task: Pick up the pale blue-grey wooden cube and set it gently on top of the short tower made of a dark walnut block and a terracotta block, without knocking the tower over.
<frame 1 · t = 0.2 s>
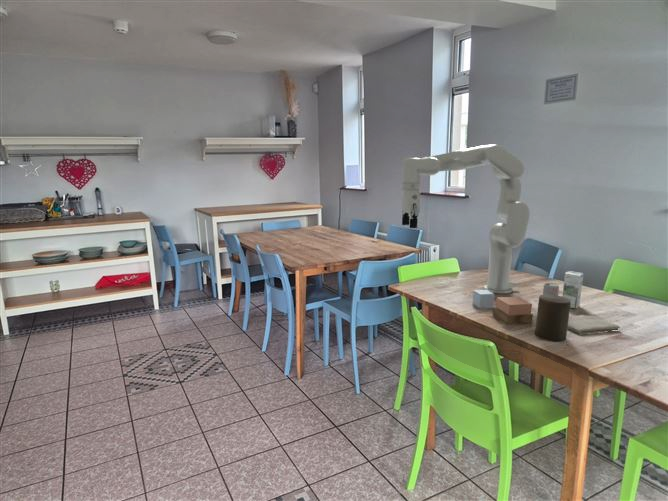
hand: (409, 226, 187), 31 cm above the table, tool pointing down, fingers open, 9 cm apart
walnut base block: (511, 320, 162), on the table, touching terracotta block
washcloth: (587, 328, 155), on the table
terracotta block: (513, 310, 161), point 4 cm above the table, touching walnut base block
pillar candle: (550, 336, 146), on the table
energy drink: (548, 314, 169), on the table
syrup box: (570, 306, 178), on the table
blue-grey cube: (482, 305, 178), on the table
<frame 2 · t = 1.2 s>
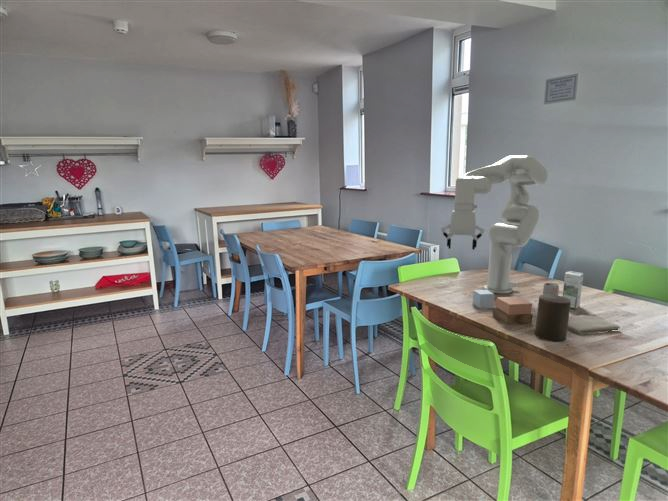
hand: (461, 248, 178), 23 cm above the table, tool pointing down, fingers open, 9 cm apart
nothing on the table moved.
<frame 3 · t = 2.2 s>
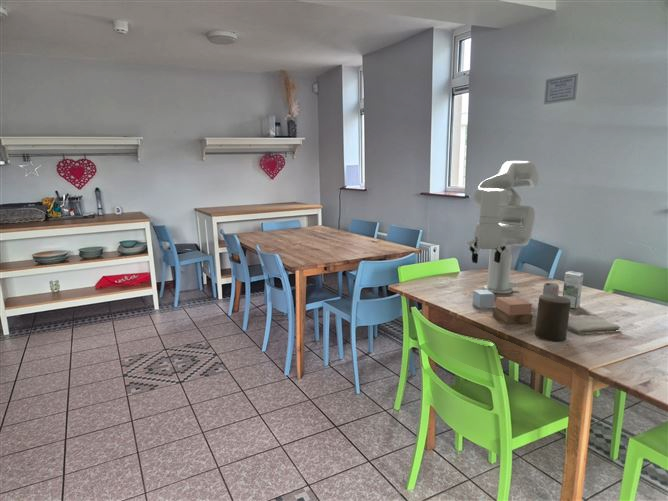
hand: (485, 262, 174), 19 cm above the table, tool pointing down, fingers open, 9 cm apart
nothing on the table moved.
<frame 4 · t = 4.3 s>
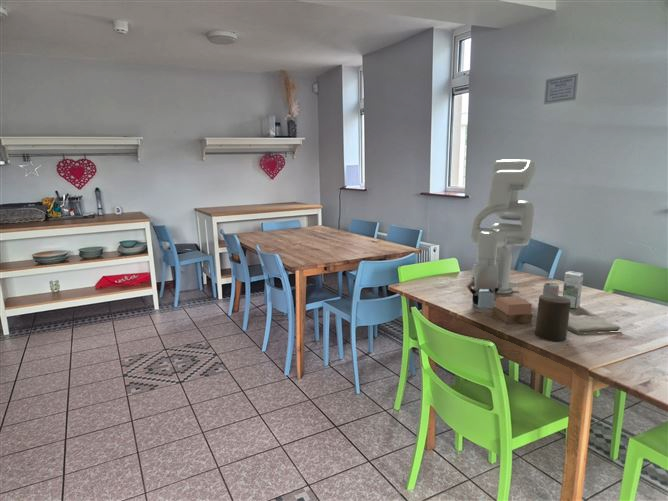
hand: (482, 303, 178), 1 cm above the table, tool pointing down, fingers closed on blue-grey cube, 6 cm apart
blue-grey cube: (482, 305, 178), on the table, touching gripper
everything else where it was.
when the fingers open (10 cm above the table, at t = 12.1 s): blue-grey cube drops 1 cm, point 8 cm above the table.
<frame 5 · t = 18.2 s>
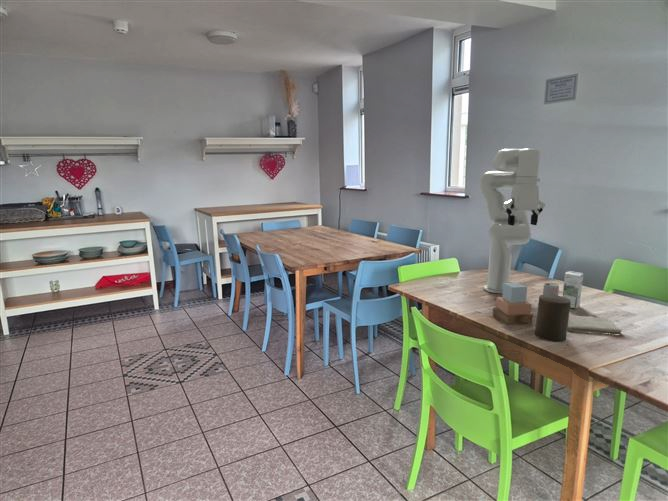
hand: (522, 224, 169), 34 cm above the table, tool pointing down, fingers open, 9 cm apart
blue-grey cube: (513, 300, 160), point 8 cm above the table
at the end: blue-grey cube 0.1 cm off-centre on the terracotta block, point 4.0 cm above the terracotta block's base; blue-grey cube tilted 0°; terracotta block point 3.5 cm above the table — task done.
